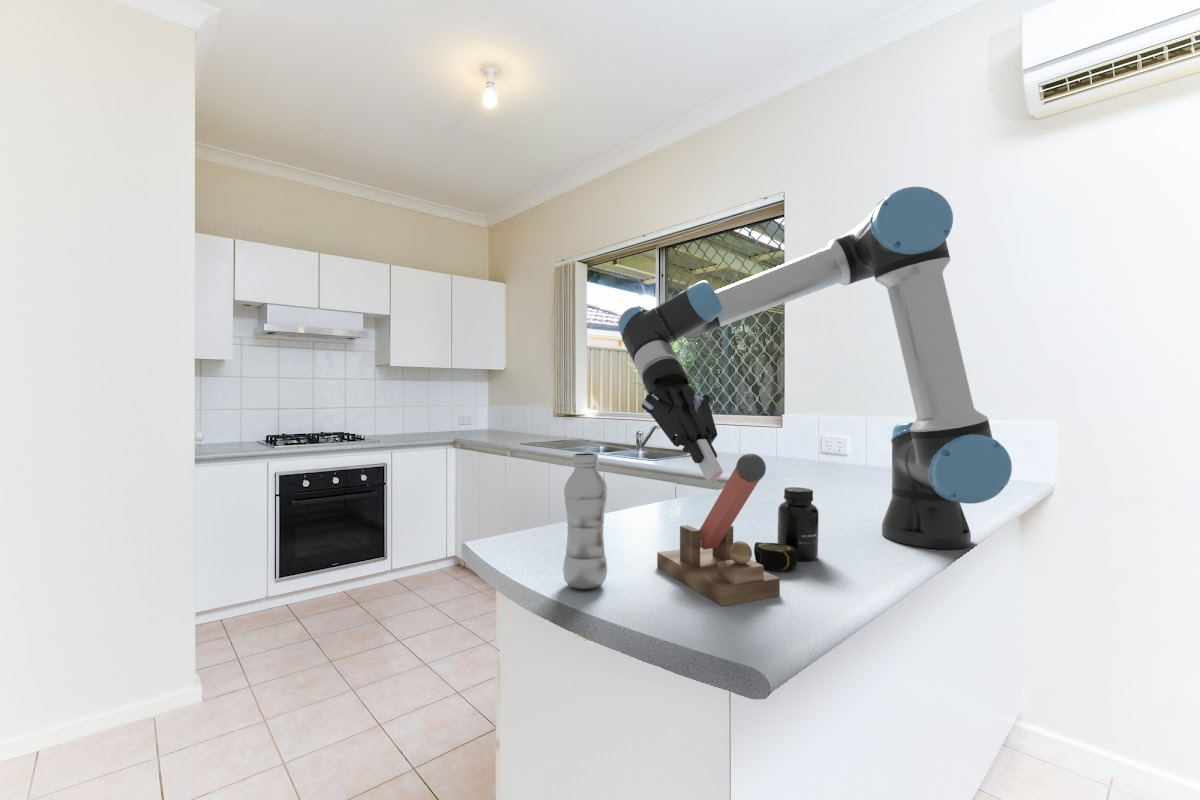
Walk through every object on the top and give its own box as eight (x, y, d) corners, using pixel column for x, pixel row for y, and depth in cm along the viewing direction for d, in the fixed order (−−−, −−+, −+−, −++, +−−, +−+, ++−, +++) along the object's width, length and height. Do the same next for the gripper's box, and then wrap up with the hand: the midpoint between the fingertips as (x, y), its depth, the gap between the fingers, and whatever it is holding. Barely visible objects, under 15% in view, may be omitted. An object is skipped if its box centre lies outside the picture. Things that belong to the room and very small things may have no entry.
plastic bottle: (558, 581, 84) (558, 452, 83) (600, 577, 86) (599, 451, 85) (569, 596, 77) (568, 457, 77) (613, 591, 80) (613, 455, 79)
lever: (688, 535, 87) (738, 448, 75) (709, 533, 89) (761, 447, 77) (699, 556, 84) (752, 469, 72) (720, 553, 86) (776, 467, 74)
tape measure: (795, 563, 93) (795, 541, 93) (798, 576, 86) (798, 553, 86) (753, 560, 95) (754, 539, 95) (754, 572, 88) (754, 549, 88)
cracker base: (657, 567, 90) (657, 519, 90) (707, 559, 94) (707, 514, 94) (722, 606, 74) (722, 548, 74) (779, 595, 78) (779, 540, 78)
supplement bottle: (811, 564, 92) (812, 494, 91) (771, 557, 96) (772, 489, 96) (823, 555, 97) (823, 488, 97) (784, 548, 101) (785, 484, 101)
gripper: (683, 386, 103) (738, 488, 88) (622, 386, 98) (669, 494, 83) (699, 357, 98) (760, 460, 83) (635, 355, 93) (689, 464, 78)
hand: (715, 477), depth 83 cm, fingers closed
